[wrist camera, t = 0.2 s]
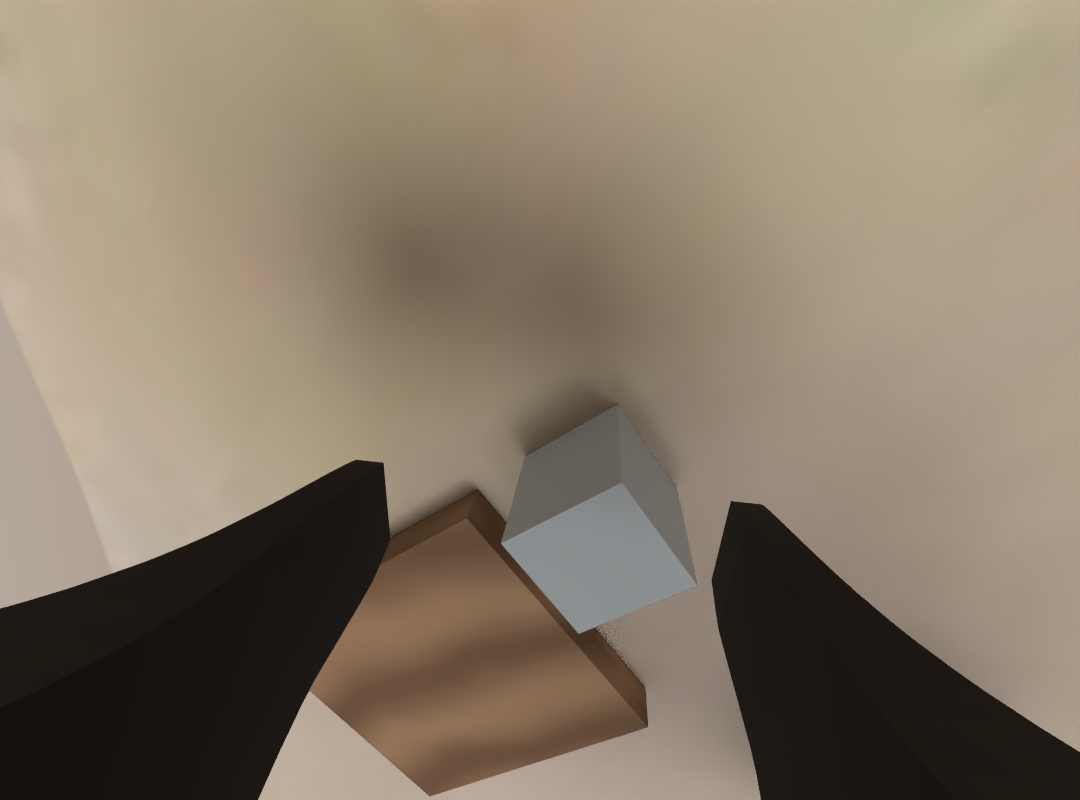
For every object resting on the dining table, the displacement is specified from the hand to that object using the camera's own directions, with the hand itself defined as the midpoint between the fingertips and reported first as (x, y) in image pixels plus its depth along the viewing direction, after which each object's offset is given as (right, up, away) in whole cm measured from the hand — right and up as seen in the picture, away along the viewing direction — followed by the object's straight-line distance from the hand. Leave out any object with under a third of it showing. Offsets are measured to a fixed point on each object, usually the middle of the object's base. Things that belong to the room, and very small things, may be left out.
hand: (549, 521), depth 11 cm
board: (-4, -10, +16) cm, 19 cm away
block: (+2, 0, +11) cm, 11 cm away
